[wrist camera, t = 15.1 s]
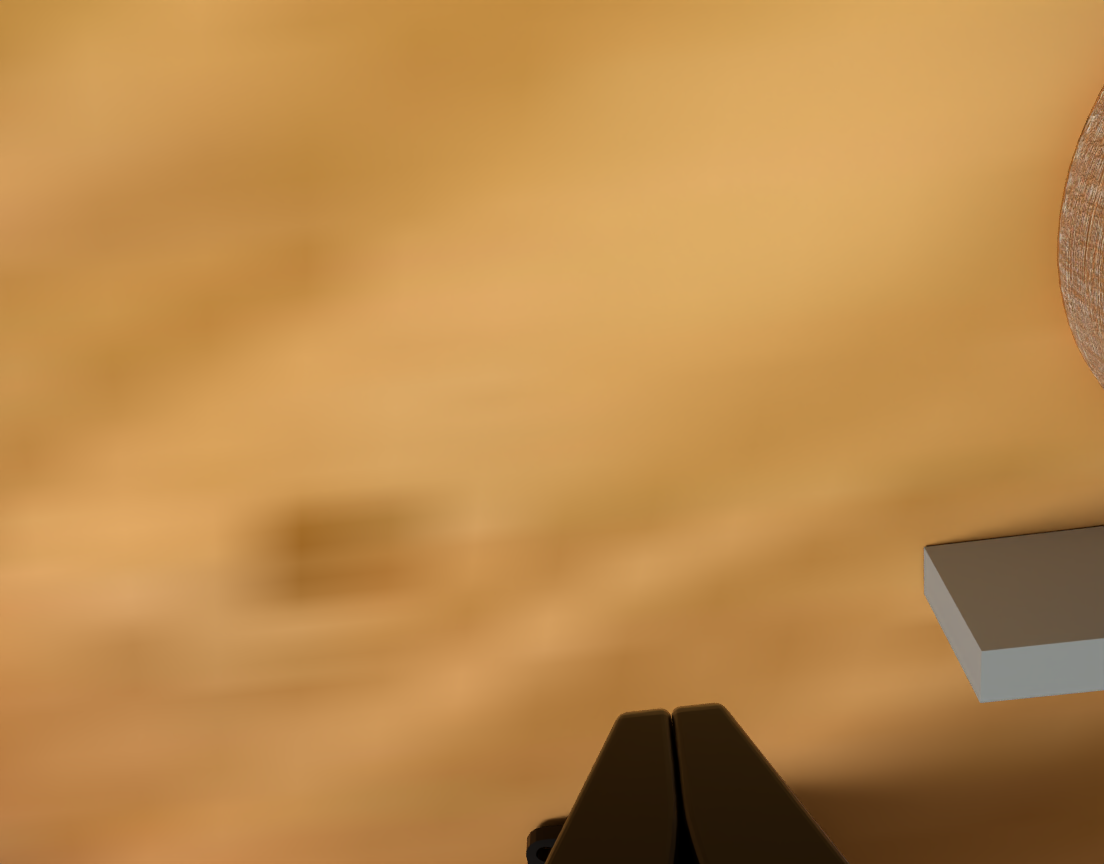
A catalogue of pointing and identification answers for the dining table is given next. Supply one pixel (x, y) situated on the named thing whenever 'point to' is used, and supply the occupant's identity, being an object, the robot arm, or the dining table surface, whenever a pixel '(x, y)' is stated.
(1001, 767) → the dining table surface
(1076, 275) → the planter
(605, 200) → the dining table surface
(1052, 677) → the tray bay
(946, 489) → the dining table surface
